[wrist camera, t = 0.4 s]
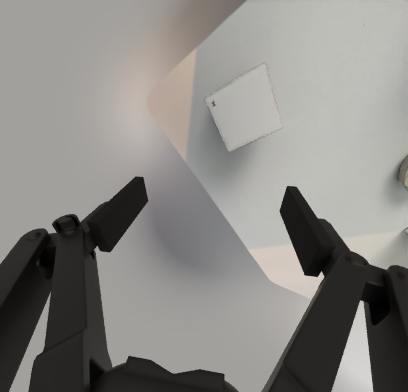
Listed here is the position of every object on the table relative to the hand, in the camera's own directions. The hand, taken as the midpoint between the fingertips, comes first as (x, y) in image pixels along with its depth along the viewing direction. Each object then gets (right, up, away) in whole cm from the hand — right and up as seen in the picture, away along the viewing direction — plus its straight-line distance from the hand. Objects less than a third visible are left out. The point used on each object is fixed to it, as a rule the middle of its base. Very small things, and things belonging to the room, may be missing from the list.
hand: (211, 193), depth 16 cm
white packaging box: (+6, +16, +15) cm, 23 cm away
